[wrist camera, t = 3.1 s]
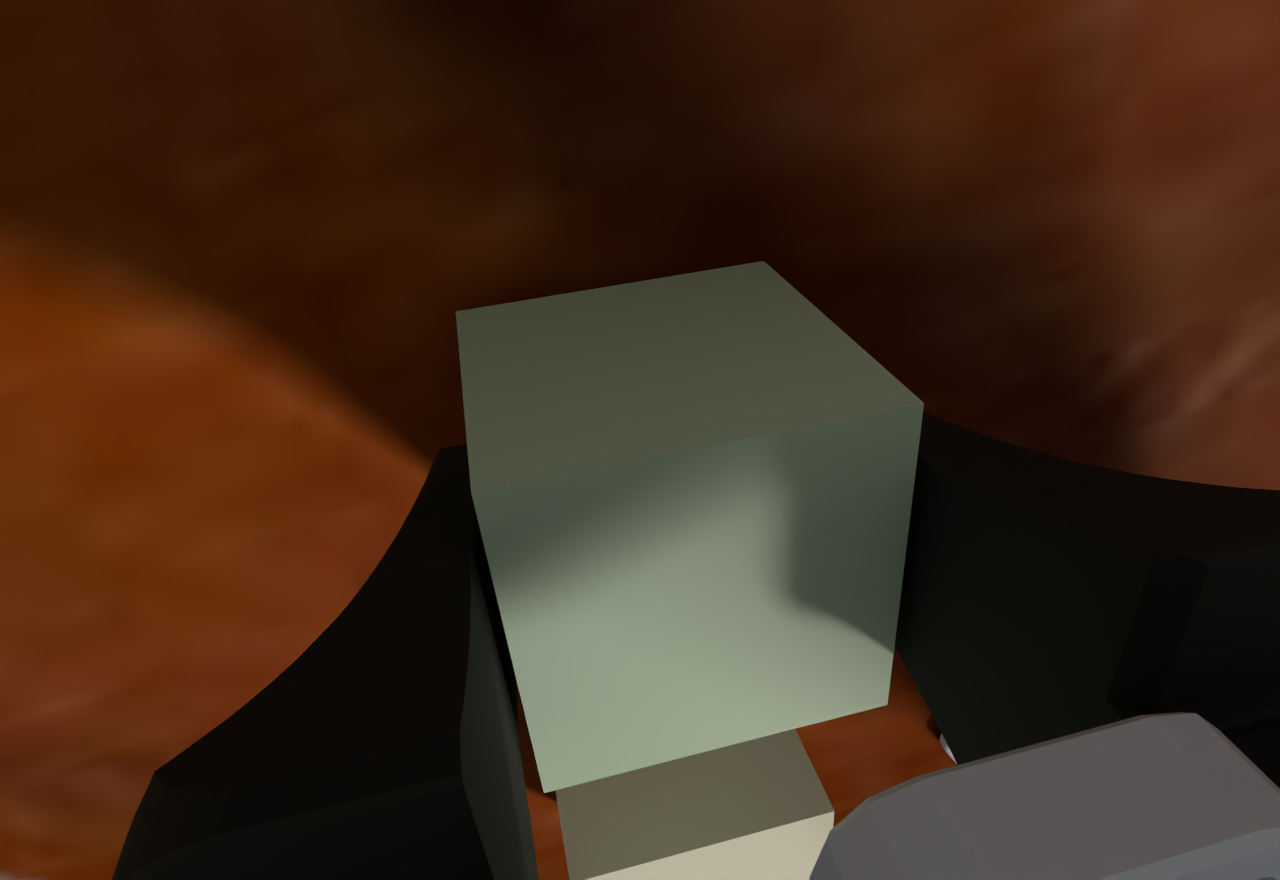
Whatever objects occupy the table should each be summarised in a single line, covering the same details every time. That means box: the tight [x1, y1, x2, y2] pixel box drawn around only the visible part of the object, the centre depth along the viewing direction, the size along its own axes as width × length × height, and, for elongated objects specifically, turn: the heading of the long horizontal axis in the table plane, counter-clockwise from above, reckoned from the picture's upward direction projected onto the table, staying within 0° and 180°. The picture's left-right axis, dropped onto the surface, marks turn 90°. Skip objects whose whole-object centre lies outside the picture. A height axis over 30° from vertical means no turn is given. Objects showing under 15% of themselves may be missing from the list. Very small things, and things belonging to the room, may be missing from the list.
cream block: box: [555, 729, 834, 880], centre depth 18 cm, size 5×5×5 cm
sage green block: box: [456, 261, 924, 793], centre depth 12 cm, size 5×5×5 cm
